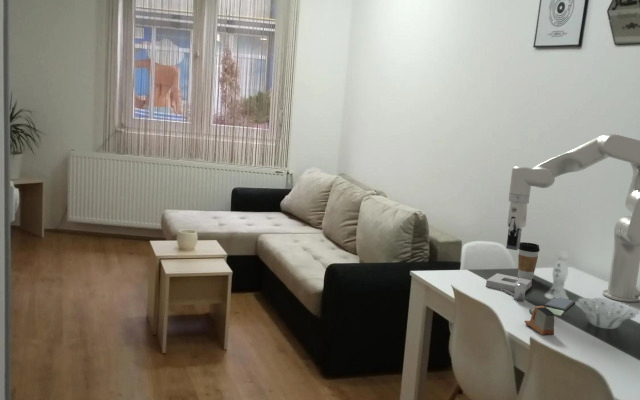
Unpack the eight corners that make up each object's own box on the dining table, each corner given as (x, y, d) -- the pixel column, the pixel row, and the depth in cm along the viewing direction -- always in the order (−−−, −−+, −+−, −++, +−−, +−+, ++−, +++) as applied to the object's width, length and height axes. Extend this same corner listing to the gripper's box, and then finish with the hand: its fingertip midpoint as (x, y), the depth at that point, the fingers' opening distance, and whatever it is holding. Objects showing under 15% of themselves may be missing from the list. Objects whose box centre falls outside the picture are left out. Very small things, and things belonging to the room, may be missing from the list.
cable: (516, 297, 219) (516, 295, 219) (514, 297, 219) (514, 295, 219) (503, 290, 226) (503, 288, 226) (501, 291, 226) (501, 288, 226)
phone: (574, 304, 217) (574, 300, 217) (564, 313, 206) (564, 309, 206) (554, 299, 221) (555, 296, 221) (543, 307, 210) (544, 304, 210)
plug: (525, 300, 216) (526, 284, 215) (522, 302, 213) (524, 286, 212) (515, 298, 218) (517, 282, 217) (512, 300, 215) (514, 284, 214)
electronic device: (535, 324, 191) (538, 301, 190) (554, 335, 182) (557, 312, 181) (523, 324, 190) (526, 302, 188) (542, 336, 181) (545, 312, 179)
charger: (519, 248, 232) (521, 228, 230) (516, 250, 228) (519, 229, 227) (509, 246, 234) (511, 226, 233) (506, 248, 230) (508, 227, 229)
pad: (564, 311, 205) (564, 310, 205) (560, 316, 200) (560, 315, 200) (546, 307, 209) (546, 306, 209) (542, 311, 204) (542, 311, 204)
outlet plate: (531, 286, 235) (532, 280, 235) (522, 294, 224) (523, 287, 223) (496, 279, 243) (497, 273, 242) (485, 286, 231) (486, 280, 231)
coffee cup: (510, 276, 249) (514, 241, 247) (525, 275, 253) (529, 240, 251) (525, 281, 242) (529, 246, 239) (540, 280, 245) (544, 245, 243)
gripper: (523, 201, 219) (517, 249, 222) (534, 198, 233) (528, 243, 236) (503, 199, 223) (497, 246, 226) (514, 195, 237) (509, 240, 240)
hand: (513, 244), depth 231 cm, fingers closed on charger, 4 cm apart
